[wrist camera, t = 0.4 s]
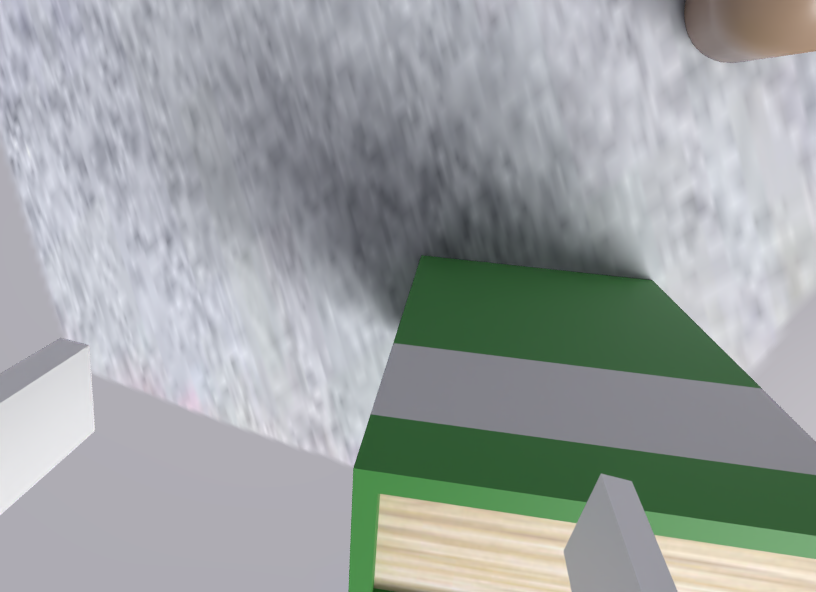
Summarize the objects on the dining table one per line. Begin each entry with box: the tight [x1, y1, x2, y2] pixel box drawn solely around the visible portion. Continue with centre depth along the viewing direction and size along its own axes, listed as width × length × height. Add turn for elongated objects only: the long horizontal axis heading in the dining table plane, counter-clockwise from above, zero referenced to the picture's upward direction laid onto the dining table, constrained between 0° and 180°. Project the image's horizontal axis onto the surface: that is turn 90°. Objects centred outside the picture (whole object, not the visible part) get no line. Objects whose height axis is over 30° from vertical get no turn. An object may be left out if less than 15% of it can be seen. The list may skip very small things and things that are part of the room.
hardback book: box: [349, 255, 816, 592], centre depth 28 cm, size 18×7×24 cm, turn 86°
